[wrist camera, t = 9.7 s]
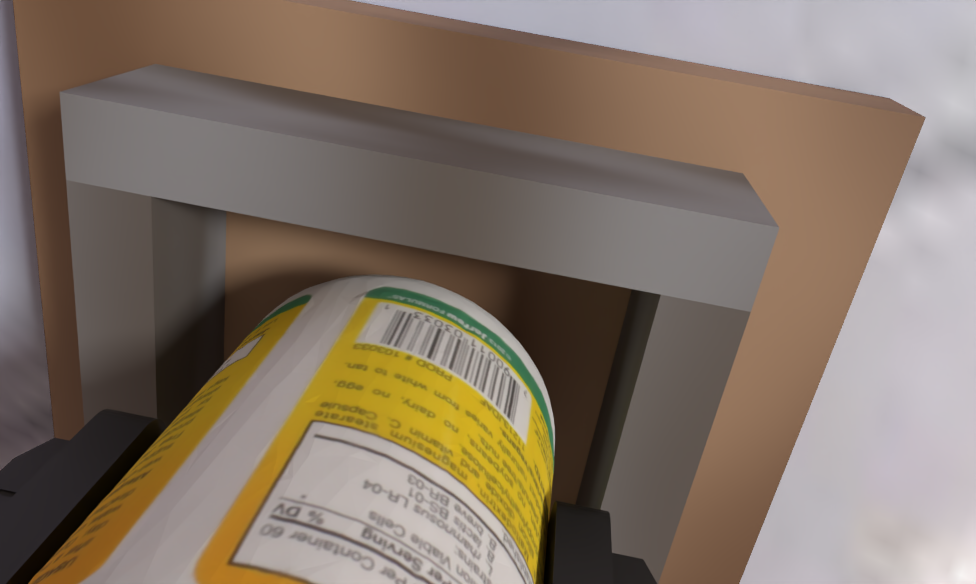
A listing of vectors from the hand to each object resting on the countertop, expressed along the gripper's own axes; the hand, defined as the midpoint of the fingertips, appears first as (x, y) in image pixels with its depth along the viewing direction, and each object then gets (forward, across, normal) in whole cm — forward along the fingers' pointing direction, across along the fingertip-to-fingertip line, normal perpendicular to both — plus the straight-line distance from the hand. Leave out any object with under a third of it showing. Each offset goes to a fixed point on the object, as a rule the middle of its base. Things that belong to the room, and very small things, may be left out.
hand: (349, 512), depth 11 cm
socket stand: (+5, 0, 0) cm, 5 cm away
